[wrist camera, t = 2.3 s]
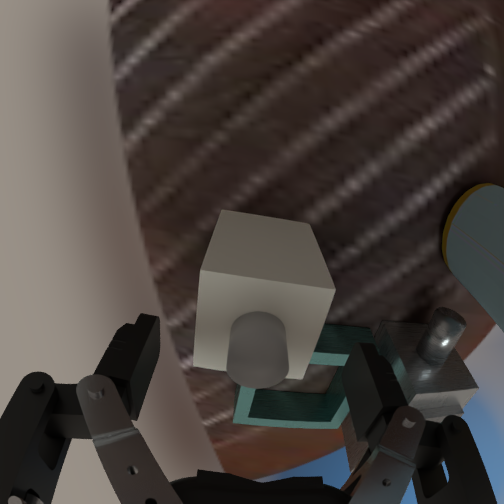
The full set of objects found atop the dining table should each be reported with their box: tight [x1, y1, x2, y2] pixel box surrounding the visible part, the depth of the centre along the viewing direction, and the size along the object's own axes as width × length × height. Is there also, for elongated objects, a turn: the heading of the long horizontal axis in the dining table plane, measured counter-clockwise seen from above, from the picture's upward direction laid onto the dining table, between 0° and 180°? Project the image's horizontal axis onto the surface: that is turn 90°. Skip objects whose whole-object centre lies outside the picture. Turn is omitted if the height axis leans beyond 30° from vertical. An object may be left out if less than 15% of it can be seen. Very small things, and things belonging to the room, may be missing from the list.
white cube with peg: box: [193, 210, 336, 389], centre depth 15 cm, size 5×5×9 cm
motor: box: [233, 307, 479, 472], centre depth 18 cm, size 13×15×8 cm
